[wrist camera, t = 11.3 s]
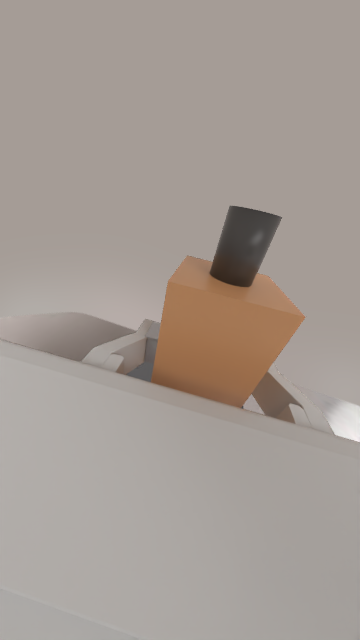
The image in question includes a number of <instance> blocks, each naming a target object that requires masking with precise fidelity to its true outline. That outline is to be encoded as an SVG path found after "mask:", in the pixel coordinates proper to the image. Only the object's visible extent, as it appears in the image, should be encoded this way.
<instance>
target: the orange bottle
mask: <svg viewBox="0 0 360 640" xmlns="http://www.w3.org/2000/svg"><path fill="white" fill-rule="evenodd" d="M281 219H282V217H280V216H277V215H273V214H270V213H266V212H262V211H258V210H253V209H248V208H243V207H237V206H230V207H229V210H228V213H227V217H226V220H225V223H224V227H223V230H222V234H221V237H220V240H219V243H218V247H217V250H216V254H215V256H214V260H213V262H211V261H207V260H203V259H199V258H195V257H191V256H187V257H186V258H185V259H184V261H183V262H182V263H181V265H180V266H179V267H178V269H177V270H176V271H175V273H174V274H173V275H172V277H171V278H170V279H169V281H168V285H167V290H166V296H165V302H164V308H163V314H162V320H161V325H160V331H159V337H158V343H157V349H156V355H155V360H154V366H153V372H152V378H151V383H155V384H158V385H162V386H165V387H169V388H172V389H176V390H179V391H183V392H186V393H190V394H193V395H197V396H200V397H204V398H207V399H211V400H214V401H218V402H221V403H225V404H228V405H232V406H235V407H239V408H241V407H242V406H243V405H244V403H245V402H246V400H247V399H248V398H249V396H250V395H251V393H252V392H253V391H254V389H255V388H256V386H257V385H258V383H259V382H260V381H261V379H262V378H263V376H264V375H265V374H266V372H267V371H268V369H269V368H270V367H271V365H272V364H273V362H274V361H275V360H276V358H277V357H278V355H279V354H280V352H281V351H282V350H283V348H284V347H285V346H286V344H287V343H288V341H289V340H290V338H291V337H292V336H293V334H294V333H295V331H296V330H297V329H298V327H299V326H300V324H301V322H303V320H304V318H305V316H304V315H303V314H302V313H301V312H300V310H299V309H298V308H297V307H296V306H295V305H294V304H293V303H292V302H291V301H290V300H289V298H288V297H287V296H286V295H285V294H284V293H283V292H282V291H281V290H280V288H279V287H278V286H277V285H276V284H275V283H274V282H273V281H272V280H271V279H270V277H269V276H266V275H262V274H258V273H257V272H258V270H259V268H260V265H261V263H262V261H263V259H264V257H265V254H266V252H267V250H268V248H269V246H270V243H271V241H272V239H273V237H274V234H275V232H276V230H277V228H278V225H279V223H280V221H281Z"/></svg>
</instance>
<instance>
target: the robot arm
mask: <svg viewBox="0 0 360 640" xmlns="http://www.w3.org/2000/svg"><path fill="white" fill-rule="evenodd" d="M160 325H161V323H158V322H155V321H151V320H148V319H145V320H144V322H143V323H142V324H141V326H140V327H139V329H138V330H137V332H136V333H135V334H134V333H132V334H129V335H126V336H123V337H121V338H118V339H115V340H113V341H110V342H107V343H104V344H102V345H99V346H96V347H94V348H93V349H92V350H91V351H90V352H89V353H88V354H87V355H86V356H85V358H84V359H83V360H82V361H81V362H78V361H75V360H71V359H68V358H64V357H61V356H57V355H54V354H50V353H47V352H43V351H40V350H37V349H33V348H30V347H26V346H23V345H19V344H16V343H12V342H9V341H5V340H2V339H0V640H360V442H357V441H353V440H350V439H346V438H343V437H339V436H336V435H335V434H334V432H333V430H332V428H331V427H330V425H329V423H328V421H327V419H326V417H325V416H324V414H323V412H322V411H321V410H320V409H319V408H318V407H317V406H316V405H314V404H313V403H312V402H311V401H310V400H309V399H308V398H307V397H306V396H305V395H304V394H303V393H302V392H300V391H299V390H298V389H297V388H296V387H295V386H294V385H293V384H292V383H291V382H290V381H289V380H287V379H286V378H285V377H284V376H283V375H282V374H279V372H278V370H277V367H276V365H275V363H274V362H273V364H272V365H271V367H270V368H269V369H268V371H267V372H266V374H265V375H264V376H263V378H262V379H261V381H260V382H259V383H258V385H257V386H256V388H255V389H254V391H253V392H252V393H251V394H252V395H253V397H254V398H255V400H256V401H257V403H258V404H259V406H260V407H261V409H262V410H263V412H264V413H265V415H263V414H259V413H256V412H252V411H249V410H245V409H242V408H239V407H235V406H232V405H228V404H225V403H221V402H218V401H214V400H211V399H207V398H204V397H200V396H197V395H193V394H190V393H186V392H183V391H179V390H176V389H172V388H169V387H165V386H162V385H158V384H155V383H151V382H148V381H144V380H141V379H137V378H134V377H130V376H127V375H126V374H127V373H129V372H130V371H132V370H133V369H135V368H136V367H138V366H139V365H141V364H142V363H144V362H148V363H152V364H154V360H155V355H156V349H157V343H158V337H159V331H160Z"/></svg>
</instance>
